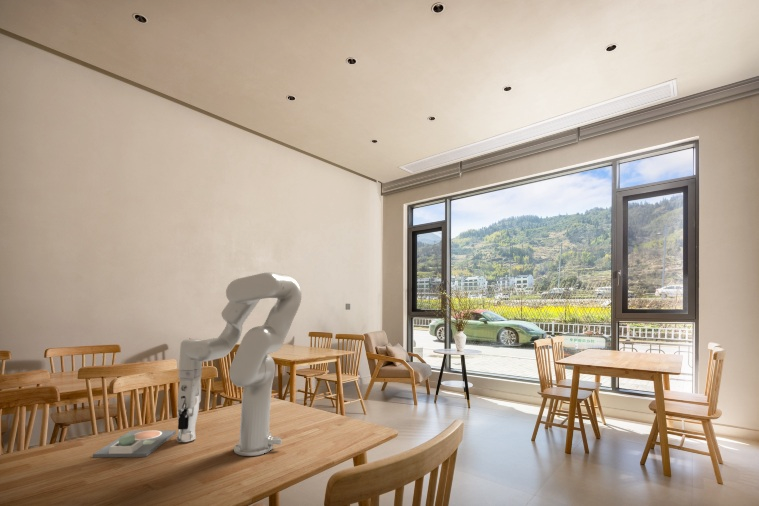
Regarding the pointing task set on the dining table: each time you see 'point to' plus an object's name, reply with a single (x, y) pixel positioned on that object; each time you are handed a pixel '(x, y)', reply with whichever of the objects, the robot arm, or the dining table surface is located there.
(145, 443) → the picture board
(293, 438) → the dining table surface
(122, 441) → the button
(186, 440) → the beer glass
